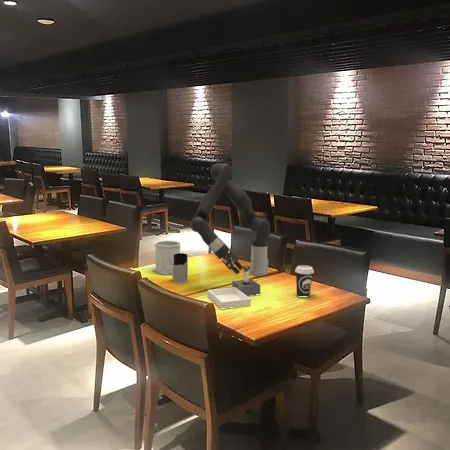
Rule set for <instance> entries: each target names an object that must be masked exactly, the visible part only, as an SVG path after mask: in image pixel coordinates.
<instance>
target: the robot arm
mask: <svg viewBox="0 0 450 450" xmlns="http://www.w3.org/2000/svg"><path fill="white" fill-rule="evenodd" d="M233 169H234V168H233V167H232V165H230V164H229V163H225V162H224V163H222V162H220V163H219V162H217V163H214V164H212V165H211V167H210V170H209V171H210V176H211V178H212V179H213V180H214V181H215V183H214V184H213V185H212V186H211V188H210V189H209V190H208V191H207V192H206V193H205V195H204V196H203V198H202V199H201V200H200V203H199V205H198V208H197V211H196V212H195V214H194V216H193V218H192V220H191V222H190V229H191V230H192V231H193V232H194V233H197V234H198V235H199V236H200V237H201V239H202V241H203V242H204V243H205V244H206V245H207V246H208V248H209V250H210V251H211V252H212V253H213V254H214V255H215V257H217V258H218V259H219V260H221V259H223V260H221V262H222V263H223V265H225V266H226V268H228V270H231V271H233V273H234V274H235V275H238V274H240V271H242V269H243V265H242V264H241V263H240V262H239V258H238V257H237V256H236V255H235V254H234V253H233V252H232V251H231V249H230V247H229V246H228V245H227V244H226V243H225V241H223V240H222V238H220V237H219V236H218V235H217V234H216V233H215V232H214V230H212V228H211V227H210V225H209V224H208V222H207V221H208V217H209V216H210V215H211V213H212V211H213V209H214V206H215V205H216V202H217V200H218V199H219V197H220V195H221V194H222V192H224V193H225V194H226V196H227V197H228V198H229V200H230V201H231V203H232V204H233V206H234V207H235V208H236V209H237V211H238V212H239V214H240V215H241V216H242V218H243V219H244V221H245V222H246V224H247V226H248V228H249V230H250V231H251V232H253V233H255V234H256V238H253V239H252V240H251V248H250V249H251V251H250V252H251V253H250V255H251V256H250V267H251V268H250V275H253V276H257V277H261V276H266V275H268V274H269V258H268V244H269V240H270V233H271V223H270V221H269V220H268V219H267V218H262V217H260V216H258V215H257V214H256V212H255V211H254V210H253V208H252V207H253V206H252V200H251V198H250V197H249V195H248V194H247V193H246V191H245V190H244V189H243V188H241V187H240V186H239V185H238V184H236V183H235V182H234V181H233V180H232V178H233V173H234V170H233Z"/></svg>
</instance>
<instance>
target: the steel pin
mask: <svg viewBox="0 0 450 450" xmlns="http://www.w3.org/2000/svg"><path fill="white" fill-rule="evenodd" d="M242 267H243V268H242V269H243V270H244V271H243V280H244V285H248V283H249V274H250V272H249V271H250V270H251V265H242Z"/></svg>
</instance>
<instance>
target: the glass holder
mask: <svg viewBox="0 0 450 450" xmlns="http://www.w3.org/2000/svg"><path fill="white" fill-rule="evenodd" d="M165 258H169V257H165ZM165 258H164V259H165ZM164 259H163V260H164ZM169 259H170V258H169ZM188 261H189V260H188V254H187V253H183V252H182V253H181V252H180V253H177V254H174V264H171V260H170V264H171V265H173V274H170V273H169V272H168V271H167V270H166V269H165V267H164V264H163V267H164V269H165V270H166V271H167V272H168V273H169V274H170V275H169V276H172V282H173V283H174V284H180V285H182V284H187V283H189V279H188V277H189V276H188V274H189V273H188V270H189V266H188V265H189V262H188Z"/></svg>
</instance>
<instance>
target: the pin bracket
mask: <svg viewBox="0 0 450 450" xmlns="http://www.w3.org/2000/svg"><path fill="white" fill-rule="evenodd" d="M231 287H236V288H237V289H238V290H240V291H241V292H242V293H244V294H245V295H246V296H248V297H250V295H254V296H257V295H256V294H260V295H261V284H259V283H257V282H256V281H255V280H253V279H251V278H250V279H249V283H248V285H244V279H242V280H232V282H231Z"/></svg>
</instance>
